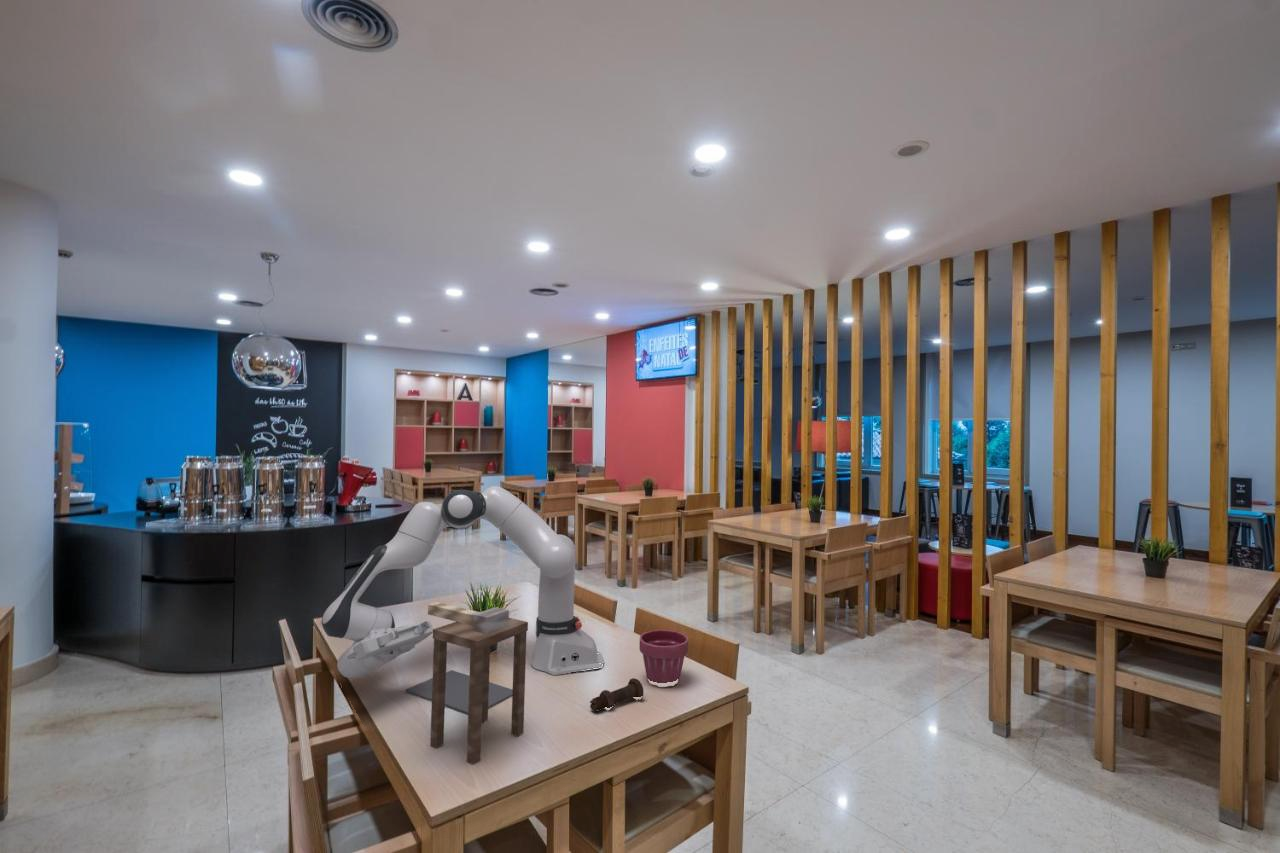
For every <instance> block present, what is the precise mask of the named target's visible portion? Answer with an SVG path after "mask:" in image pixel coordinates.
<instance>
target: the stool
mask: <svg viewBox="0 0 1280 853" xmlns="http://www.w3.org/2000/svg"><path fill="white" fill-rule="evenodd" d="M528 631H529V622H528V621H525V620H521V619H517V618H512V617H509V623H508V626H506V627H503V628H501V629H498V630H495V631H493V632H490V633H487V634H485V633H481V632H477V631H473V626H471V625H467V624H463V623H460V622H456V621H453V622H451V623H448V624H445V625H441V626H438V627H436V628H433V633H432V639H433V654H432V655H433V657H432V659H433V660H432V661H433V662H432V678H433V681H432V701H431V709H430V710H431V714H430V715H431V717H430V740H429V741H430V742H429V746H430V747H432V748H434V749H439V748H440V747H442V746H444V743H445V742H444V741H445V740H444V737H445V736H444V735H445V716H446V715H445V714H446V712H445V709H446V707H445V686H446V672H447V650H448V644H452V645H455V646H459V647H463V648H465V649H469V651H470V652H469V654H470V655H469V657H470V658H469V676H470V677H469V708H468V715H467V741H466V742H467V743H466V747H467V748H466V763H469V764H471V765H473V764H474V765H475V764H477V763H478V762H480V761H481V756H482V753H481V752H482V749H481V748H482V724H484V723H485V722H487V721H488V719H489V709H488V698H489V682H490V666H491V665H490V662H491V661H490V660H491V646H493V645H495V644H497V643H500V642H503V641H505V640H508V639H511V638H513V663H512V664H513V665H512V666H513V668H512V689H513V692H512V697H511V698H512V699H511V725H510V726H511V729H510V730H511V731H510V734H513V735H512V736H514V735H516V736H518V737H520V736H521V735H523V734H524V732H525V731H524V727H525V726H524V722H525V694H526V664H527V663H526V656H527V632H528ZM522 733H523V734H522ZM520 734H521V735H520ZM519 735H520V736H519ZM516 736H515V737H516ZM479 760H480V761H479ZM476 762H477V763H476Z"/></svg>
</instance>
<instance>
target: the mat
mask: <svg viewBox="0 0 1280 853" xmlns="http://www.w3.org/2000/svg"><path fill="white" fill-rule="evenodd" d="M469 677H470V674H469V675H468V674H465V673H462V672H459V671H455V670H453V669H451V670H449V671H446V686H445V708H448V709H451V710H453V711H456V712H459V713H462V714H465V715H466V716H468V708H469ZM432 681H433V677H432V678H430V679H427V680H425V681H423V682H420V683H418V684H415V685H413V686H411V687H408V688H406V689H405V688H404V689H405V690H404V692H405V693H407V692H408V694H410V693H411V695H413V696H415V695H416V696H415V697H418V696H419V698H421V699H424V700H426V699H427V701H429V700H430V701H429V702H432ZM512 692H513V688H509V687H506V686H503V685H501V684H497V683H494V682H490V681H489V698H488V710H489V709H491V708H493V707H495V706H497V705H499V704H500V703H502V702H504V701H506V700H508V699H510V698H511V697H510V696H512ZM509 697H510V698H509ZM507 698H508V699H507ZM505 699H506V700H505ZM503 700H504V701H503ZM498 703H499V704H498ZM496 704H497V705H496Z"/></svg>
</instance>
